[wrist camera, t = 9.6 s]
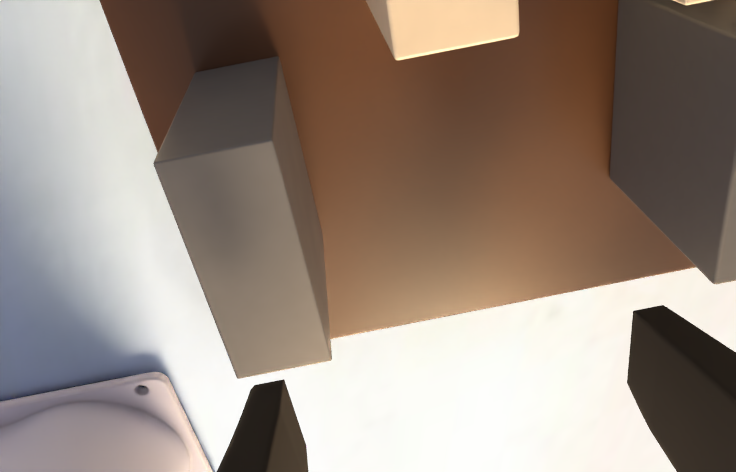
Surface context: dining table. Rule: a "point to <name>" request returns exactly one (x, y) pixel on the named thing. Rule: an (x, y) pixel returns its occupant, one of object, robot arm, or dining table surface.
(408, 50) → the tan wooden block
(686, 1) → the cream block
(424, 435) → the dining table surface
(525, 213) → the shelf board
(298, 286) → the grey block pair
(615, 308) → the dining table surface
